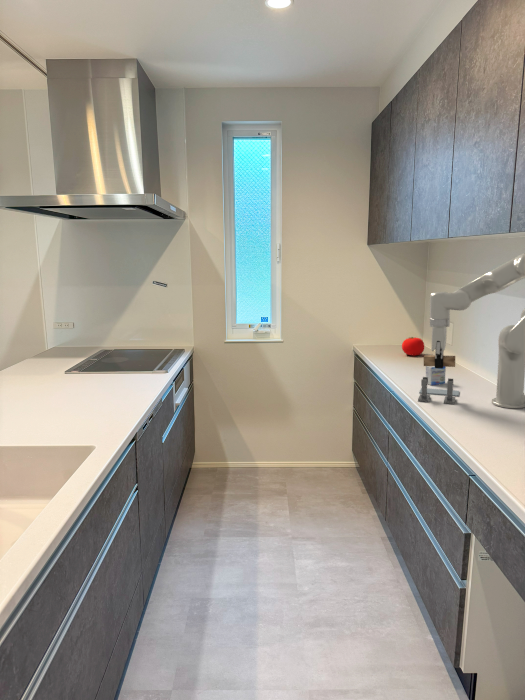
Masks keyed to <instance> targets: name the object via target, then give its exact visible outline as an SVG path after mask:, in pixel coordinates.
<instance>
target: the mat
mask: <svg viewBox="0 0 525 700" xmlns="http://www.w3.org/2000/svg"><path fill="white" fill-rule="evenodd" d="M418 394H419V395H420V394H422V387H420V390H419V391H418ZM427 395H437V396H447V389H444V388H443V389H440V388H439V389H438V388H428V387H427ZM459 395H460V390H454V389H453V397H459Z"/></svg>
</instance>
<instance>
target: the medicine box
mask: <svg viewBox="0 0 525 700" xmlns="http://www.w3.org/2000/svg"><path fill="white" fill-rule="evenodd" d="M446 369H447V367H443V368H435V366H425V377H428V384H427V385H429V386H438V385H439V384H440V385H446V371H447V370H446Z"/></svg>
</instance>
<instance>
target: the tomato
mask: <svg viewBox="0 0 525 700" xmlns="http://www.w3.org/2000/svg"><path fill="white" fill-rule="evenodd" d="M401 349H402V351H403V352H404V354H406V355H408V356H414V357H415V356H417V357H418V356H420V355H422V354H423V352H424V350H425V342H424V341H423V339H421V338H419V337H417V336H416V337H413V336H411V337H410V336H409V337H407V338H406V339H404V340H403V342H402V343H401Z"/></svg>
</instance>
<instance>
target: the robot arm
mask: <svg viewBox="0 0 525 700" xmlns="http://www.w3.org/2000/svg"><path fill="white" fill-rule="evenodd" d="M523 279H525V253H521V254H518V255H517V256H516V257H513V258H511V259H510V260H508V261H507V262H503V264H500V265H499V266H497V267H496V268H494V269H492V270H489V271H488V272H486V273H485V274H483V275H481V276H480V277H478V278H476V279H474V280H472V281H470V282H468V283H467V284H465V285H463V286H462V287H460V288H458V289H456V290H454V291H453V292H446V291H435V292H432V293H430V296H429V327H430V328H432V330H431V349H430V350H431V352H435V368H443V356H444V353H445V352H444V351H445V350H446V345H447V328H448V327H450V325H451V324H450V322H451V321H450V320H451V319H450V317H451V316H450V315H451V313H450V312H451V311H464V310H467V309H469V308H470V307H471V304H472V303H474V302H476V300H479V299H482V298H483V297H486V296H488V295H491V294H496V293H499V292H501V291H503V290H505V289H506V288H508V287H511V286H512V285H514V284H516V283H518V282H519V281H522V280H523ZM497 340H498V345H497V346H498V360H497V361H498V363H497V364H498V365H497V379H496V395H495V397H494V398H492V399H491V404H492V405H495V406H496V407H501V408H505V409H506V408H507V409H523V408H525V391H524V389H525V308H524V309H523V310H522V312H521V314H520V320H519V321H518V322H517V323H516V324H511V325H507V326H505V327H503V328H502V329H501V331H500V332H499V335H498V339H497Z"/></svg>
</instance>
